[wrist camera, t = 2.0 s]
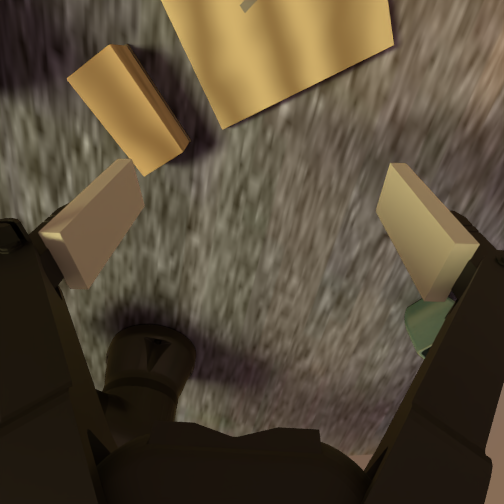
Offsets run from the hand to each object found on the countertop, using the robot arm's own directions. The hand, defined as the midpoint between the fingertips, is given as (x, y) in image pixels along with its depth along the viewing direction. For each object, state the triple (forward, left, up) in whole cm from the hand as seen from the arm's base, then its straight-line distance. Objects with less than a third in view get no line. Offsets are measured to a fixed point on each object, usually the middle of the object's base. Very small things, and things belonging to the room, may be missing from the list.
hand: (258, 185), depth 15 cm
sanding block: (-10, +6, -20) cm, 23 cm away
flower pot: (+15, -38, -20) cm, 46 cm away
